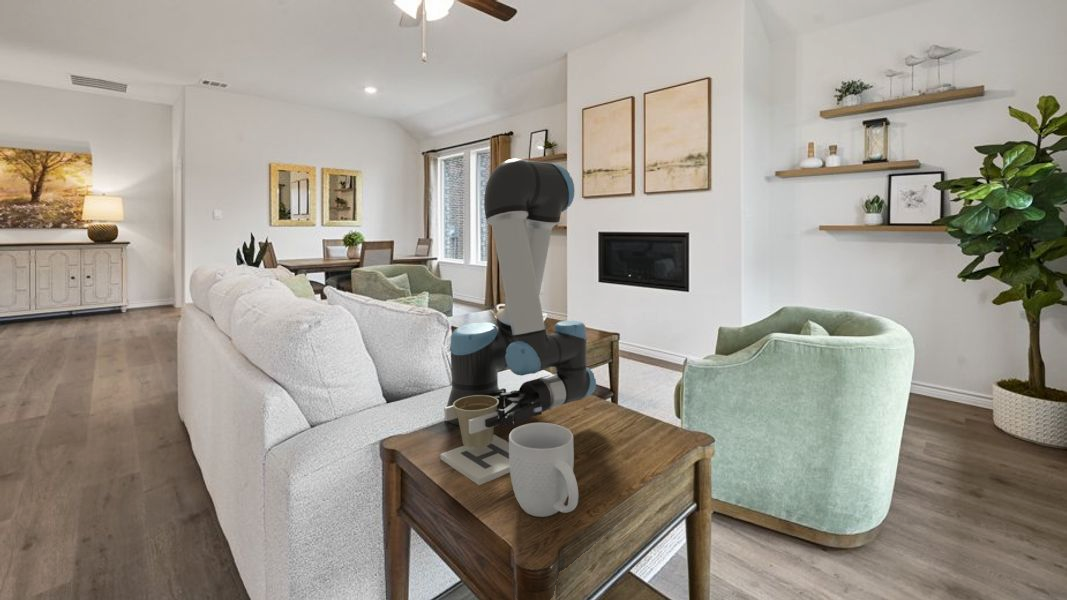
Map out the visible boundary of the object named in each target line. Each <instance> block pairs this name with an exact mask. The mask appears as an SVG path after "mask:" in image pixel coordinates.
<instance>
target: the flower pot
mask: <svg viewBox="0 0 1067 600" xmlns="http://www.w3.org/2000/svg"><path fill="white" fill-rule="evenodd" d="M464 403H465V404H464ZM498 404H499V400H498V399H497V398H495V397H492V396H486V395H474V396H467V397H463V398H460V399H458V400H456V401H455V402H454V403H453V407H454V408H455V411H456V414H457V415H458V420H459V425H460V426H459V430H460V436H461V441H462V444H463V446H464V445H465V446H467V447H476V448H481V447H485V446H488V445H490V444H491V442H492V441H493V435H494V429H495V426H494V427H491V428H488V429H485V430H482V431H479V432H476V433H473V434H470V433H469V419H472V418H476V417H479V416H482V415H485V414H489V413H492V412H495V411H496V410H497V405H498Z"/></svg>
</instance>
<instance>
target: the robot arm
mask: <svg viewBox="0 0 1067 600" xmlns="http://www.w3.org/2000/svg"><path fill="white" fill-rule="evenodd" d="M484 190H485V191H484V197H483V198H484V200H483V201H484V202H483V205H484V206H483V207H484V214H485V220H486V223H487V224H488V225H490V226H491V228H492V232H493V237H494V238H493V239H494V243H495V248H496V249H495V250H496V254H497V259H498V264H499V269H500V276H501V279H502V285H503V290H504V291H503V292H504V296H505V302H504V308H503V309H502V310H501V311H499V312H498V313H497V315H496V316H497V317H496V322H495V324H494V323H492V322H487V321H480V322H479V321H478V322H476V323H475V322H472V323H467V324H464V325H461V326H458V327H457V328H456V329H454V330H453V331H452V333H451V335H450V344H449V345H450V346H449V351H450V369H451V371H450V372H451V374H450V376H451V390H450V393H449V397H448V400H447V402H446V403H447V405H446V407H444V408H443V409H444V410H443V411H444V421H446V422H448V423H450V424H452V425H455V426H459V427H460V425H459V420H458V415H457V414H456V411H455V408H454V407H453V403H454V402H455V401H456V400H458V399H460V398H463V397H467V396H474V395H486V396H492V397H495V398H497V399H498V400H499V404H498V405H497V410H496V411H495V412H492V413H489V414H485V415H482V416H479V417H476V418H472V419H469V433H470V434H473V433H476V432H479V431H482V430H485V429H488V428H491V427H494V428H495V427H497V426H505V425H507V428H513V427H515V426H518V425H519V424H521V423H523V422H525V421H528V420H529V419H531V418H533V417H536V416H541V415H542V414H543V413H544V412H546V411H547V410H550V411H551V410H553V409H554V408H557V407H560V406H563V405H566V404H570V403H572V402H576V401H581V400H583V399H585V398H587V397H589V396H591V395H592V394H593V393H594V391H595V390H596V387H597V379H596V378H595V374H594V372H593V370H592V369H590V368H589V367H587V340H588V339H587V330H586V325H585V323H584V322H581V321H577V320H563V321H562V320H561V321H558V322H557V323H555V325H554V331H553V333H550V334H547V330H546V327H545V322H544V321H545V320H544V316H543V310H542V305H541V299H540V294H541V288H542V283H543V278H544V273H545V267H546V263H547V257H548V251H549V247H550V241H551V235H552V230H553V228H554V227H555V226H556V225H558V224H559V223H560V220H561V215H562V212H565V211H567V210H568V208H569V207H570V206H571V205H572V203H573V201H574V197H575V184H574V181H573V178H572V176H571V173H570V172H569V171H568V170H567V169H566V168H565V167H563V166H562V165H559V164H555V163H552V162H545V161H538V160H537V161H535V160H524V159H520V158H511V159H507V160H505V161H503V162H501V163H500V164H498V165H497V166H496V167H495V169H493V171H492V172H491V174H490V175H489V178H488V180H487V182H486V186H485V189H484ZM551 368H555V373H553V374H548V375H545V376H541V377H537V378H535V379H532V380H531V379H530V380H528V381H525V382H522V384H521V385H520V387H519V388H518V390H511V391H510V392H509V391H508V392H507V389H506V388H504V387H503V388H501V389H500V388H499V384H498V382H499V381H498V377H499V376H498V372H499V371H500V372H501V371H503V370H507V369H509V370H510V372H512V373H513V374H514V375H516V376H520V377H521V376H526V375H530V374H531V375H532V374H536V373H539V372H541V371H545V370H548V369H551ZM464 404H465V403H464Z"/></svg>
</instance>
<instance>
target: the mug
mask: <svg viewBox="0 0 1067 600" xmlns="http://www.w3.org/2000/svg"><path fill="white" fill-rule="evenodd" d="M508 442H509V464H510V473H509V475H510V479H511V486H512V490H513V493H514V496H515V498H516V501H517V502H518V504H519V505H520V507H521V509H522V510H523V511H524V512H525V513H526V514H528V515H531V516H533V517H539V518H545V517H550V516H553V515H555V514H557V513H558V512H560V513H564V514H565V513H570V512H572V511H574V510H575V509H576V507H577V506H578V503H579V488H578V483H577V479H576V475H575V473H574V466H575V465H574V461H575V459H574V458H575V456H574V453H575V451H574V449H575V448H574V434H573V432H572V431H571V430H570V429H569V428H567V427H566V426H563V425H561V424H560V425H559V424H555V423H551V422H530V423H526V424H523V425H522V424H521V425H519V426H517V427H515V428H513V429H512V430H510V433H509V435H508ZM567 498H568V499H567ZM566 500H568V502H567V505H565V503H566Z"/></svg>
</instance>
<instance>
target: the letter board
mask: <svg viewBox="0 0 1067 600" xmlns="http://www.w3.org/2000/svg"><path fill="white" fill-rule="evenodd" d="M440 460H441V461H443V462H444V463H446V464H447V465H449V466H450V467H451V468H453V469H454V470H456V471H458V472H459V473H460V474H461V475H463V476H464V477H466V478H467V479H469V480H470V481H472V482H473V483H475V484H476V485H478V486H481V485H483V484H485V483H488V482H490V481H492V480H495V479H497V478H498V479H499V478H500V477H502V476H506V475H507V474H510V464H509V441H507V440H505V439H503V438H501V437H499V436H497V435H496V434H493V441H492V442H491V444H490V445H488V446H485V447H481V448H476V447H467V446H465V445H464V444H463V445H462V446H459V447H456V448H452V449H451V450H448V451H444V452H442V453H440Z"/></svg>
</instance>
